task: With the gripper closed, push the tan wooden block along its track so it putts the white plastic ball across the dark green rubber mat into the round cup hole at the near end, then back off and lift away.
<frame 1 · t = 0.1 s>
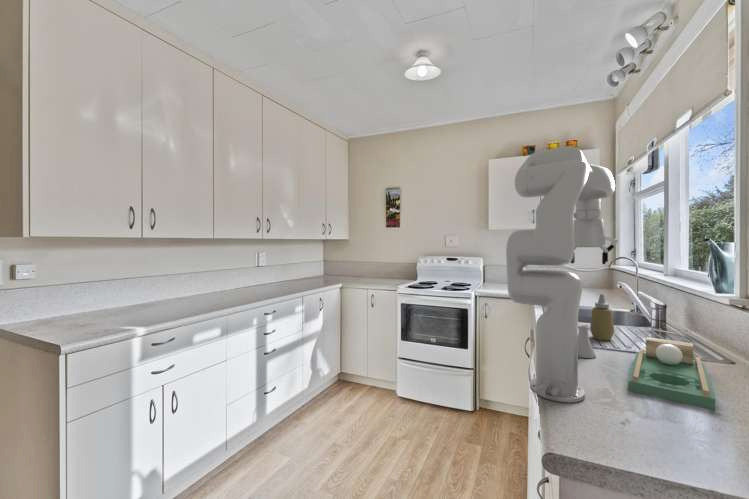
hand: (587, 263, 120), 31 cm above the table, tool pointing down, fingers open, 9 cm apart
squeeze bottle: (601, 339, 134), on the table
tan wooden block: (668, 350, 103), point 5 cm above the table, slide at 0.0 cm
flask: (583, 356, 115), on the table
putting mat: (668, 380, 93), on the table
ball: (668, 354, 98), point 5 cm above the table, touching putting mat
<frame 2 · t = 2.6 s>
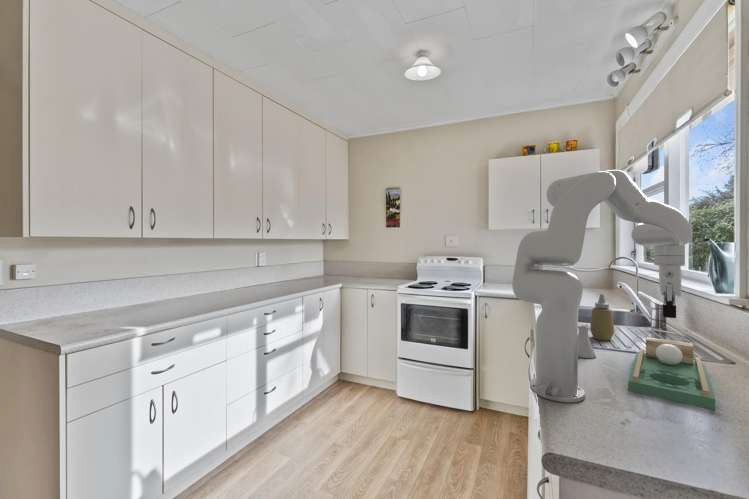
hand: (669, 317, 108), 14 cm above the table, tool pointing down, fingers closed
nothing on the table moved.
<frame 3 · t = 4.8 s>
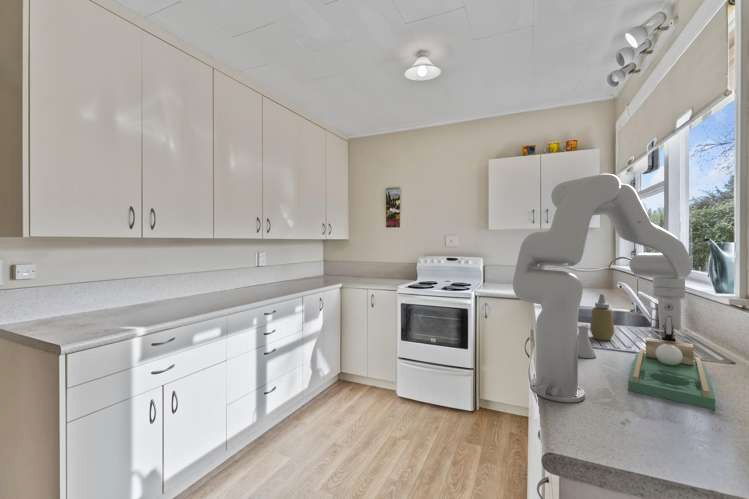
hand: (668, 350, 105), 4 cm above the table, tool pointing down, fingers closed
tan wooden block: (668, 350, 102), point 5 cm above the table, slide at 0.9 cm, touching gripper
ball: (668, 354, 98), point 5 cm above the table, tilted 9°, touching putting mat
everything else where it was.
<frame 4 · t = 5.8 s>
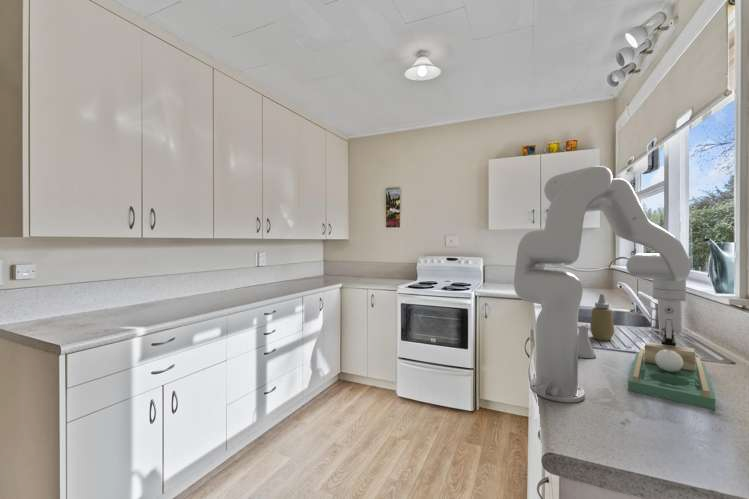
hand: (668, 354, 101), 4 cm above the table, tool pointing down, fingers closed
tan wooden block: (668, 355, 98), point 5 cm above the table, slide at 6.7 cm, touching gripper
ball: (668, 360, 93), point 5 cm above the table, tilted 132°, touching putting mat
everything else where it was.
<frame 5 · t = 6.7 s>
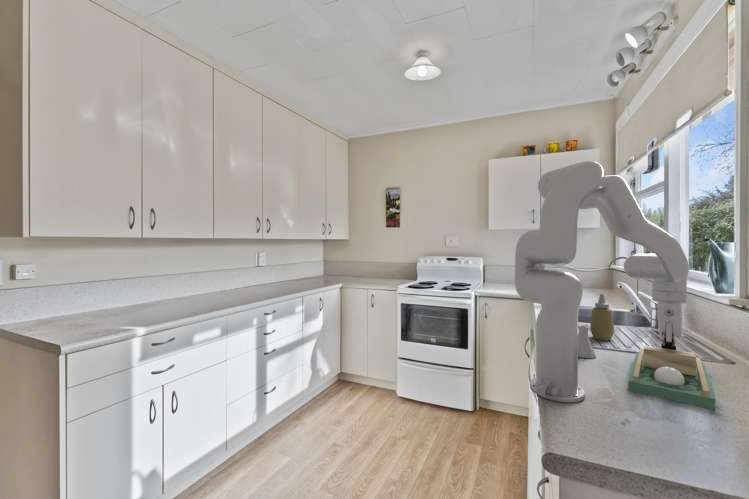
hand: (668, 358, 97), 5 cm above the table, tool pointing down, fingers closed
tan wooden block: (668, 360, 94), point 5 cm above the table, slide at 11.4 cm, touching gripper
ball: (668, 378, 87), point 3 cm above the table, tilted 53°
everything else where it was.
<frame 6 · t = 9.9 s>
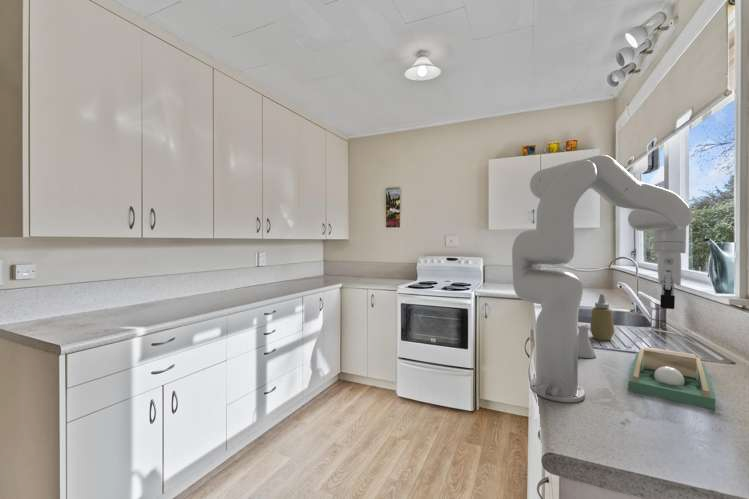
hand: (667, 308, 102), 18 cm above the table, tool pointing down, fingers closed
tan wooden block: (668, 361, 93), point 5 cm above the table, slide at 13.0 cm
everything else where it was.
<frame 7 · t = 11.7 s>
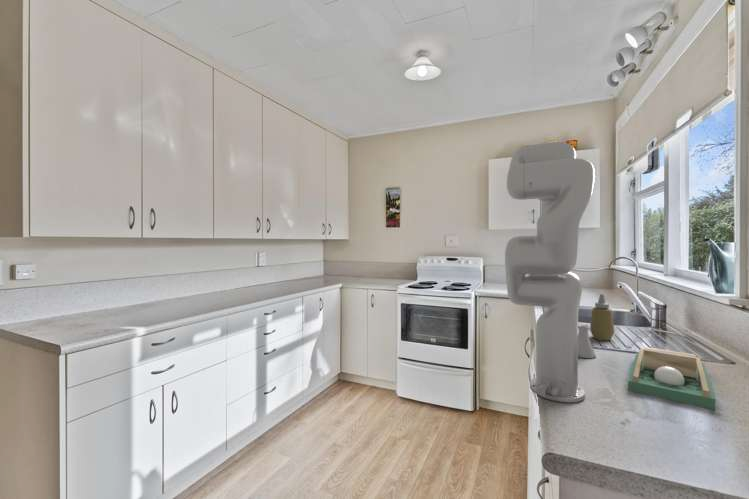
hand: (553, 271, 114), 29 cm above the table, tool pointing down, fingers closed
nothing on the table moved.
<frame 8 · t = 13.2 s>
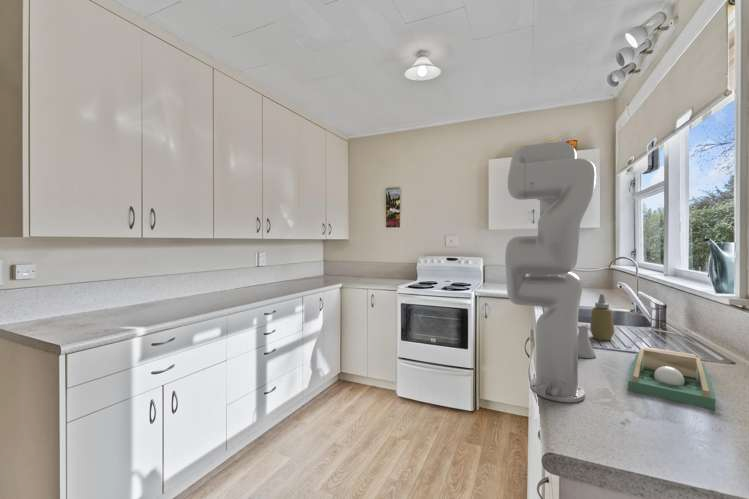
hand: (552, 271, 114), 29 cm above the table, tool pointing down, fingers closed
nothing on the table moved.
at the end: ball 0.8 cm from the target spot on the putting mat, point 3.0 cm above the putting mat's base; the gripper is holding nothing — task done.
